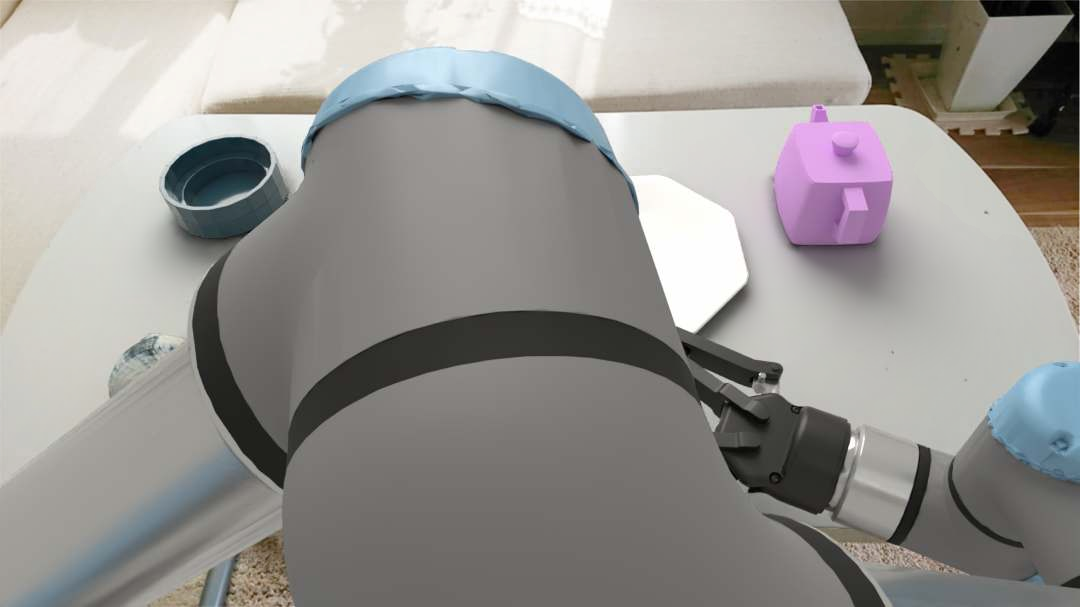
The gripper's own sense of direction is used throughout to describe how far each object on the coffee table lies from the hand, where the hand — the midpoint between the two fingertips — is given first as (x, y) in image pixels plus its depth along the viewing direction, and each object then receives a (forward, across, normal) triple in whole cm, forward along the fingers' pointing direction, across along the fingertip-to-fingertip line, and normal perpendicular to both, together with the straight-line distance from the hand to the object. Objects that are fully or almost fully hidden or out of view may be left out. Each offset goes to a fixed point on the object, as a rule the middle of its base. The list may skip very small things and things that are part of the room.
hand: (558, 367), depth 63 cm
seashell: (+36, -13, -8) cm, 39 cm away
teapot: (-16, +36, -8) cm, 41 cm away
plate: (+1, +21, -8) cm, 23 cm away
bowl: (+49, +11, -8) cm, 51 cm away
